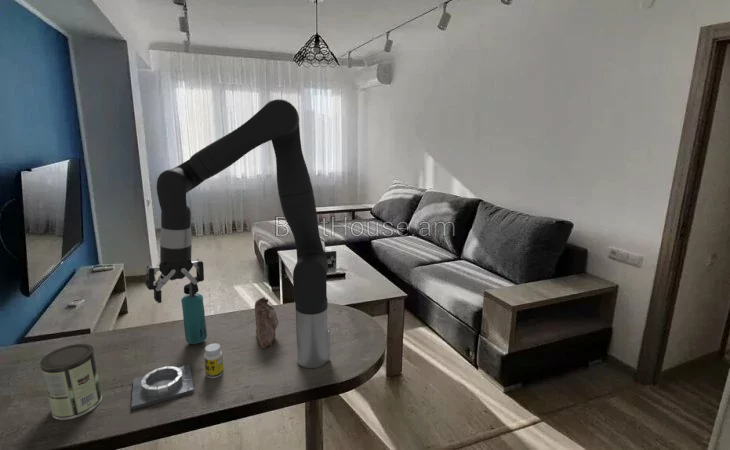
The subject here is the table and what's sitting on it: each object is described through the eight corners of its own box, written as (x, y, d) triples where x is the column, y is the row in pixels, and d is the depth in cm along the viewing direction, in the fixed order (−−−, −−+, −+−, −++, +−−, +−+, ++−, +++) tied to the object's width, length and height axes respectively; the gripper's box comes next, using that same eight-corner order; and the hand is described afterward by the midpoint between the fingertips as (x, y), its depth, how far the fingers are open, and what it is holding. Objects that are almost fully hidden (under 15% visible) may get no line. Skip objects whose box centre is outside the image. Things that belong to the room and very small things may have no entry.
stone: (249, 295, 124) (252, 311, 116) (273, 291, 127) (277, 305, 118) (256, 333, 129) (259, 351, 121) (278, 328, 132) (282, 345, 123)
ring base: (190, 367, 111) (189, 358, 110) (193, 392, 100) (192, 382, 100) (133, 381, 104) (132, 372, 103) (131, 410, 94) (130, 399, 93)
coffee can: (70, 391, 100) (61, 343, 96) (111, 391, 100) (102, 343, 97) (39, 420, 90) (27, 368, 86) (84, 420, 90) (74, 368, 87)
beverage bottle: (202, 348, 120) (196, 289, 115) (181, 348, 120) (174, 289, 115) (211, 337, 126) (206, 281, 121) (191, 336, 126) (185, 280, 121)
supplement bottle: (202, 376, 107) (199, 349, 105) (214, 366, 111) (211, 341, 109) (216, 380, 105) (213, 353, 103) (227, 370, 110) (225, 344, 107)
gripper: (150, 250, 95) (151, 310, 98) (208, 244, 104) (207, 298, 108) (142, 241, 100) (143, 298, 104) (198, 236, 110) (197, 289, 113)
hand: (175, 298), depth 106 cm, fingers open, 8 cm apart
